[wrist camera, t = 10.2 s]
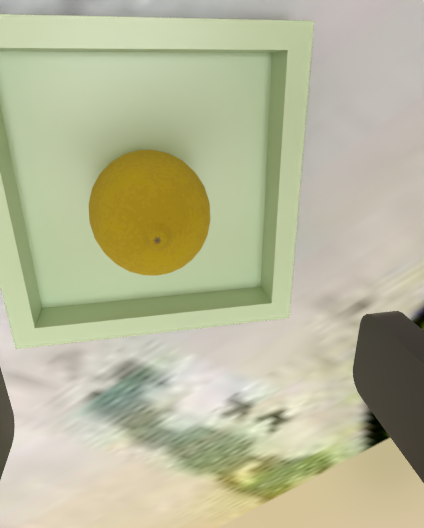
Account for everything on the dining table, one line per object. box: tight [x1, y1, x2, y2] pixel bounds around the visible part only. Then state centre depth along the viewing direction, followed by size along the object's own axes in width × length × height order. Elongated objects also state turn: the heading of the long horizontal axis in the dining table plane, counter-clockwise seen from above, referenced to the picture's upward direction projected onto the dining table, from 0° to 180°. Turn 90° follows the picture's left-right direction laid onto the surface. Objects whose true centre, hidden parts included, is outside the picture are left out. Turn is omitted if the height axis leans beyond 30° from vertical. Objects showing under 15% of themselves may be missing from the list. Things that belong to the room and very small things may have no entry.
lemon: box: [89, 150, 210, 276], centre depth 19 cm, size 6×6×8 cm
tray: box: [0, 14, 314, 349], centre depth 22 cm, size 16×16×3 cm
